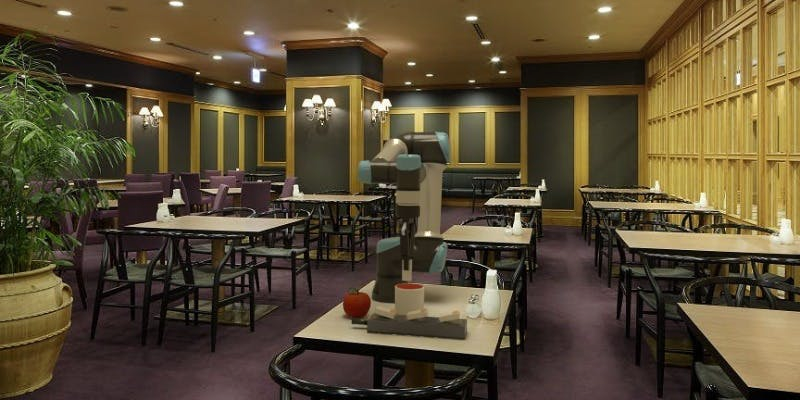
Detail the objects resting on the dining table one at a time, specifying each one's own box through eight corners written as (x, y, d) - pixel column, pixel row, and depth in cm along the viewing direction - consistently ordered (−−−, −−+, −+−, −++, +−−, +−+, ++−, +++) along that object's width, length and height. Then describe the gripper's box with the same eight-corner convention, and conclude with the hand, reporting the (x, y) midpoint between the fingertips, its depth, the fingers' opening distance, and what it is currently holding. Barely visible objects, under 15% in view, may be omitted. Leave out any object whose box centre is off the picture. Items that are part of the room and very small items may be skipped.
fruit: (369, 320, 193) (369, 290, 193) (340, 320, 194) (340, 290, 193) (372, 313, 203) (372, 284, 202) (344, 312, 203) (345, 284, 203)
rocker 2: (409, 316, 183) (408, 311, 183) (428, 313, 182) (427, 308, 182) (407, 319, 180) (406, 314, 180) (426, 316, 178) (425, 310, 178)
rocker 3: (441, 318, 181) (440, 313, 181) (460, 315, 180) (459, 310, 180) (440, 322, 178) (438, 316, 178) (459, 318, 176) (458, 313, 176)
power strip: (355, 324, 189) (355, 311, 189) (467, 331, 182) (467, 318, 182) (348, 331, 181) (348, 318, 181) (464, 339, 174) (465, 325, 174)
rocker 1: (377, 310, 185) (379, 305, 185) (395, 315, 184) (396, 310, 184) (374, 313, 182) (376, 307, 181) (393, 318, 181) (394, 313, 180)
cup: (421, 319, 195) (421, 290, 194) (391, 318, 197) (392, 288, 196) (425, 312, 205) (426, 284, 204) (398, 310, 207) (398, 282, 206)
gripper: (401, 203, 187) (400, 275, 189) (390, 205, 175) (389, 283, 176) (424, 203, 186) (422, 277, 187) (415, 206, 173) (414, 285, 174)
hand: (406, 280), depth 182 cm, fingers closed
